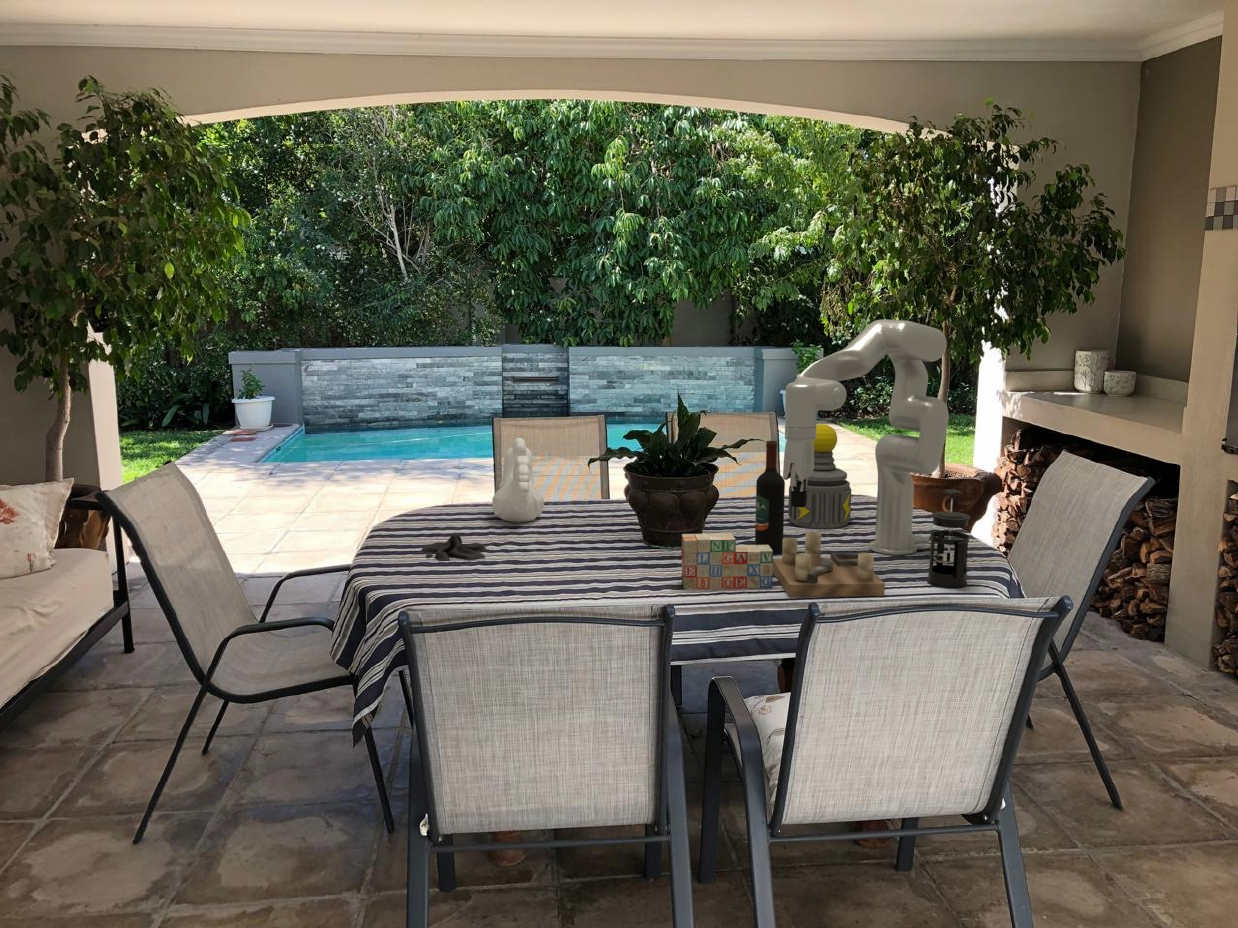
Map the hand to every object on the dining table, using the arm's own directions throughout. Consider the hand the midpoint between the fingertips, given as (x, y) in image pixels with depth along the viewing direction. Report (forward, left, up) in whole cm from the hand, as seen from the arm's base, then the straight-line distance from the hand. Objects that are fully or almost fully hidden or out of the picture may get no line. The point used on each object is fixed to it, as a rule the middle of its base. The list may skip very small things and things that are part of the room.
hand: (799, 506), depth 261 cm
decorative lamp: (-18, -55, -18) cm, 61 cm away
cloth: (+88, -23, -18) cm, 93 cm away
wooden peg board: (-6, +7, -18) cm, 20 cm away
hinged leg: (-2, +11, -14) cm, 18 cm away
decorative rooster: (+73, -59, -18) cm, 95 cm away
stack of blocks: (+19, +8, -18) cm, 27 cm away
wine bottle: (+3, -23, -18) cm, 29 cm away
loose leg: (-6, -10, -18) cm, 21 cm away
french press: (-35, +9, -18) cm, 40 cm away
